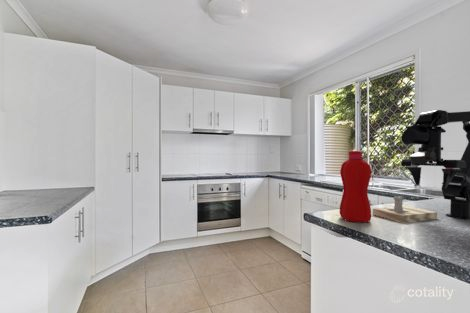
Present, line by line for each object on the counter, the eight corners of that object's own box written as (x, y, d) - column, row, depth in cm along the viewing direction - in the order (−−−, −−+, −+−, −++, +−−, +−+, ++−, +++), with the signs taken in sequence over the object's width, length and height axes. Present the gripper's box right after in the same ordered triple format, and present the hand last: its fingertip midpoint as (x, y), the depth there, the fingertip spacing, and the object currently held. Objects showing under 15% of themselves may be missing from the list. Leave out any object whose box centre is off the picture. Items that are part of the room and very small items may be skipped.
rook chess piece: (407, 219, 87) (408, 197, 87) (394, 218, 88) (394, 197, 88) (402, 216, 92) (402, 195, 92) (389, 215, 93) (389, 195, 93)
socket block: (404, 211, 100) (404, 205, 100) (437, 218, 88) (437, 212, 88) (372, 214, 94) (372, 208, 94) (402, 222, 82) (402, 215, 82)
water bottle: (379, 223, 81) (380, 150, 81) (347, 223, 82) (347, 150, 82) (366, 217, 90) (367, 151, 90) (337, 216, 91) (337, 151, 91)
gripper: (391, 145, 95) (391, 184, 95) (446, 142, 77) (445, 190, 77) (410, 145, 98) (410, 183, 98) (467, 143, 81) (467, 189, 81)
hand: (430, 186), depth 89 cm, fingers open, 9 cm apart
